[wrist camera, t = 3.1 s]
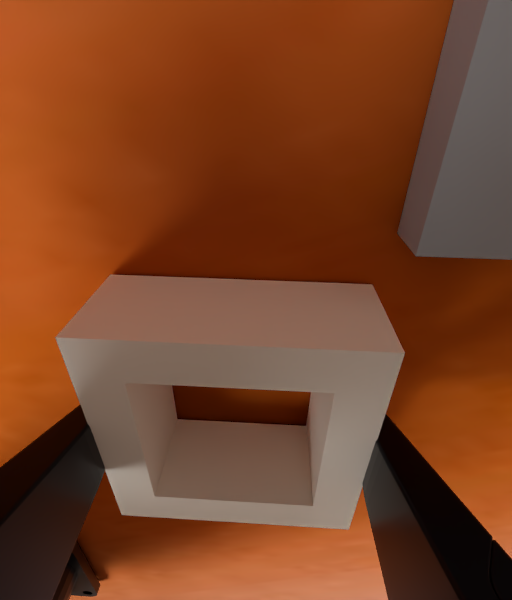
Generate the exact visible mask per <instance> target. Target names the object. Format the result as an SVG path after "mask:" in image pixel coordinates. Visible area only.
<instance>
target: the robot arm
mask: <svg viewBox="0 0 512 600" xmlns="http://www.w3.org/2000/svg"><path fill="white" fill-rule="evenodd" d="M104 471H105V466H104V463H103V461H102V458H101V455H100V452H99V450H98V447H97V444H96V442H95V439H94V436H93V434H92V431H91V428H90V426H89V425H88V423H87V421H86V418H85V415H84V413H83V410H82V407H81V405H79V406H78V407H77V408H75V409H74V410H73V411H71V412H70V413H69V414H68V415H66V416H65V417H64V418H63V419H61V420H60V421H59V422H57V423H56V424H55V425H54V426H52V427H51V428H50V429H49V430H47V431H46V432H45V433H43V434H42V435H41V436H40V437H38V438H37V439H36V440H34V441H33V442H32V443H31V444H29V445H28V446H27V447H26V448H24V449H23V450H22V451H20V452H19V453H18V454H17V455H15V456H14V457H13V458H12V459H10V460H9V461H8V462H6V463H5V464H4V465H3V466H1V467H0V600H69V598H70V596H71V595H76V596H96V595H97V593H98V590H99V587H100V583H99V581H98V580H97V578H96V576H95V574H94V572H93V571H92V569H91V567H90V565H89V563H88V562H87V560H86V558H85V556H84V554H83V553H82V551H81V549H80V547H79V545H78V543H77V542H76V541H77V538H78V536H79V533H80V531H81V529H82V526H83V524H84V521H85V519H86V516H87V514H88V512H89V509H90V507H91V504H92V502H93V500H94V497H95V495H96V492H97V490H98V487H99V485H100V482H101V480H102V477H103V474H104ZM362 484H363V491H364V497H365V502H366V506H367V511H368V515H369V519H370V523H371V528H372V532H373V536H374V540H375V545H376V549H377V553H378V557H379V562H380V566H381V570H382V575H383V579H384V583H385V587H386V592H387V596H388V600H512V559H511V558H510V557H509V555H508V554H507V553H506V552H505V551H504V550H503V548H502V547H501V546H500V545H499V544H498V543H497V542H496V541H495V540H492V536H491V535H490V534H489V533H488V531H487V530H486V529H485V528H484V527H483V526H482V524H481V523H480V522H479V521H478V520H477V519H476V517H475V516H474V515H473V514H472V513H471V512H470V511H469V509H468V508H467V507H466V506H465V505H464V504H463V502H462V501H461V500H460V499H459V498H458V497H457V496H456V494H455V493H454V492H453V491H452V490H451V489H450V487H449V486H448V485H447V484H446V483H445V482H444V480H443V479H442V478H441V477H440V476H439V475H438V474H437V472H436V471H435V470H434V469H433V468H432V467H431V465H430V464H429V463H428V462H427V461H426V460H425V459H424V457H423V456H422V455H421V454H420V453H419V452H418V450H417V449H416V448H415V447H414V446H413V445H412V443H411V442H410V441H409V440H408V439H407V438H406V437H405V435H404V434H403V433H402V432H401V431H400V430H399V428H398V427H397V426H396V425H395V424H394V423H393V422H392V420H391V419H390V418H389V417H388V416H387V415H386V414H385V417H384V421H383V424H382V427H381V430H380V433H379V436H378V439H377V440H376V442H375V445H374V448H373V451H372V454H371V457H370V460H369V464H368V467H367V470H366V473H365V476H364V479H363V483H362Z"/></svg>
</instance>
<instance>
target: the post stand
mask: <svg viewBox="0 0 512 600" xmlns="http://www.w3.org/2000/svg"><path fill="white" fill-rule="evenodd" d="M397 234H398V235H399V236H400V238H401V239H402V240H403V241H404V242H405V244H406V245H407V246H408V247H409V249H410V250H411V251H412V252H413V254H414V255H415V256H421V257H450V258H479V259H508V260H512V0H454V2H453V6H452V10H451V15H450V19H449V23H448V27H447V31H446V35H445V39H444V43H443V47H442V51H441V56H440V60H439V64H438V68H437V72H436V76H435V80H434V84H433V88H432V92H431V97H430V101H429V105H428V109H427V113H426V117H425V121H424V125H423V129H422V133H421V138H420V142H419V146H418V150H417V154H416V158H415V162H414V166H413V170H412V174H411V179H410V183H409V187H408V191H407V195H406V199H405V203H404V207H403V211H402V215H401V220H400V224H399V228H398V232H397Z"/></svg>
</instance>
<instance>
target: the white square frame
mask: <svg viewBox="0 0 512 600" xmlns="http://www.w3.org/2000/svg"><path fill="white" fill-rule="evenodd" d="M55 338H56V341H57V343H58V346H59V349H60V351H61V354H62V357H63V359H64V362H65V365H66V367H67V370H68V373H69V375H70V378H71V381H72V383H73V386H74V389H75V391H76V394H77V397H78V399H79V402H80V405H81V407H82V410H83V413H84V415H85V418H86V421H87V423H88V425H89V426H90V428H91V431H92V434H93V436H94V439H95V442H96V444H97V447H98V450H99V452H100V455H101V458H102V461H103V463H104V466H105V472H106V474H107V477H108V480H109V482H110V485H111V488H112V490H113V493H114V496H115V498H116V501H117V504H118V506H119V509H120V512H121V514H122V515H128V516H143V517H159V518H175V519H191V520H206V521H222V522H238V523H254V524H269V525H285V526H301V527H317V528H332V529H348V530H349V527H350V524H351V521H352V518H353V515H354V512H355V509H356V505H357V502H358V499H359V496H360V493H361V490H362V487H363V484H362V483H363V479H364V476H365V473H366V470H367V467H368V464H369V460H370V457H371V454H372V451H373V448H374V445H375V442H376V440H377V439H378V436H379V433H380V430H381V427H382V424H383V421H384V417H385V414H386V411H387V408H388V405H389V402H390V399H391V395H392V392H393V389H394V386H395V383H396V380H397V377H398V373H399V370H400V367H401V364H402V361H403V358H404V355H405V352H404V350H403V348H402V346H401V344H400V341H399V339H398V337H397V335H396V333H395V331H394V329H393V327H392V325H391V322H390V320H389V318H388V316H387V314H386V312H385V310H384V308H383V306H382V304H381V301H380V299H379V297H378V295H377V293H376V291H375V289H374V287H373V285H372V284H351V283H324V282H297V281H271V280H244V279H217V278H191V277H164V276H137V275H111V274H110V276H109V277H108V278H107V279H106V280H105V281H104V282H103V284H102V285H101V286H100V287H99V288H98V289H97V290H96V292H95V293H94V294H93V295H92V296H91V297H90V298H89V300H88V301H87V302H86V303H85V304H84V305H83V306H82V308H81V309H80V310H79V311H78V312H77V313H76V314H75V316H74V317H73V318H72V319H71V320H70V321H69V322H68V324H67V325H66V326H65V327H64V328H63V329H62V330H61V332H60V333H59V334H58V335H57V336H56V337H55ZM172 385H177V386H198V387H218V388H238V389H259V390H279V391H299V392H311V395H310V403H309V410H308V417H307V424H306V426H298V425H279V424H260V423H241V422H222V421H203V420H184V419H177V413H176V407H175V401H174V394H173V388H172Z"/></svg>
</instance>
